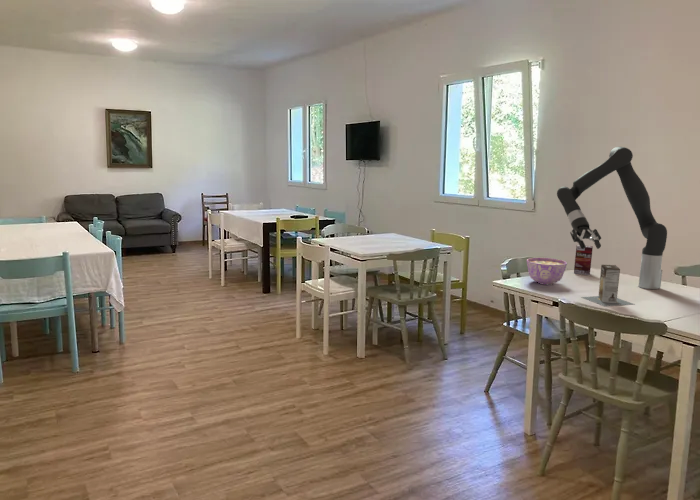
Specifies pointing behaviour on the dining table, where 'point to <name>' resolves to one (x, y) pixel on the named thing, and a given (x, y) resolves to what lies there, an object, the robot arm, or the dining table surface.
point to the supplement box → (583, 260)
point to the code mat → (598, 301)
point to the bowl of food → (546, 269)
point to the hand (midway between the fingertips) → (591, 247)
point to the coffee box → (609, 283)
